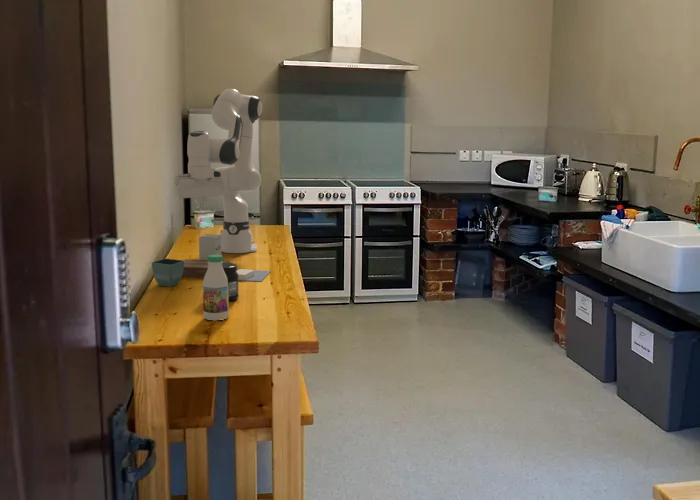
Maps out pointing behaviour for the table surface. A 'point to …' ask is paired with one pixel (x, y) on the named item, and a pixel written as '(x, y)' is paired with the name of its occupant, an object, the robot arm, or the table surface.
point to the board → (196, 268)
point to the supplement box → (209, 246)
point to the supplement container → (231, 280)
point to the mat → (257, 276)
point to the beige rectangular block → (245, 274)
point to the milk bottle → (215, 290)
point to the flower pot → (168, 271)
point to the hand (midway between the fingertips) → (200, 208)
